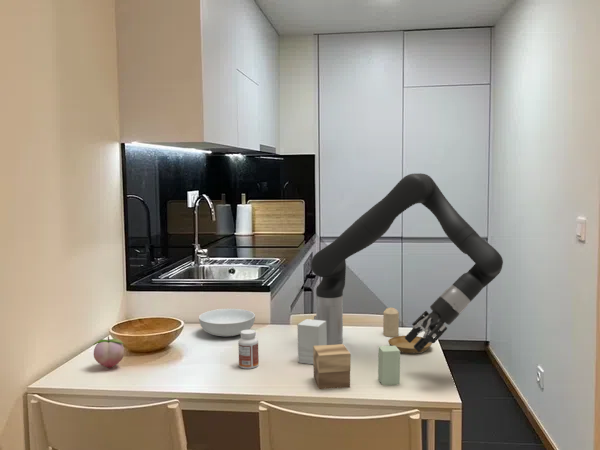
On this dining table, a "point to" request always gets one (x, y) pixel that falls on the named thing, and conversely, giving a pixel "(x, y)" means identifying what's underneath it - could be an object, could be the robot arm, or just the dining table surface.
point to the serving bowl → (226, 321)
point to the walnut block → (332, 379)
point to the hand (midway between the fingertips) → (411, 344)
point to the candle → (390, 322)
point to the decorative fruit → (108, 352)
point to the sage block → (388, 365)
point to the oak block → (331, 358)
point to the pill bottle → (248, 349)
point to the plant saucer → (407, 344)
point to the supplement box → (310, 338)
